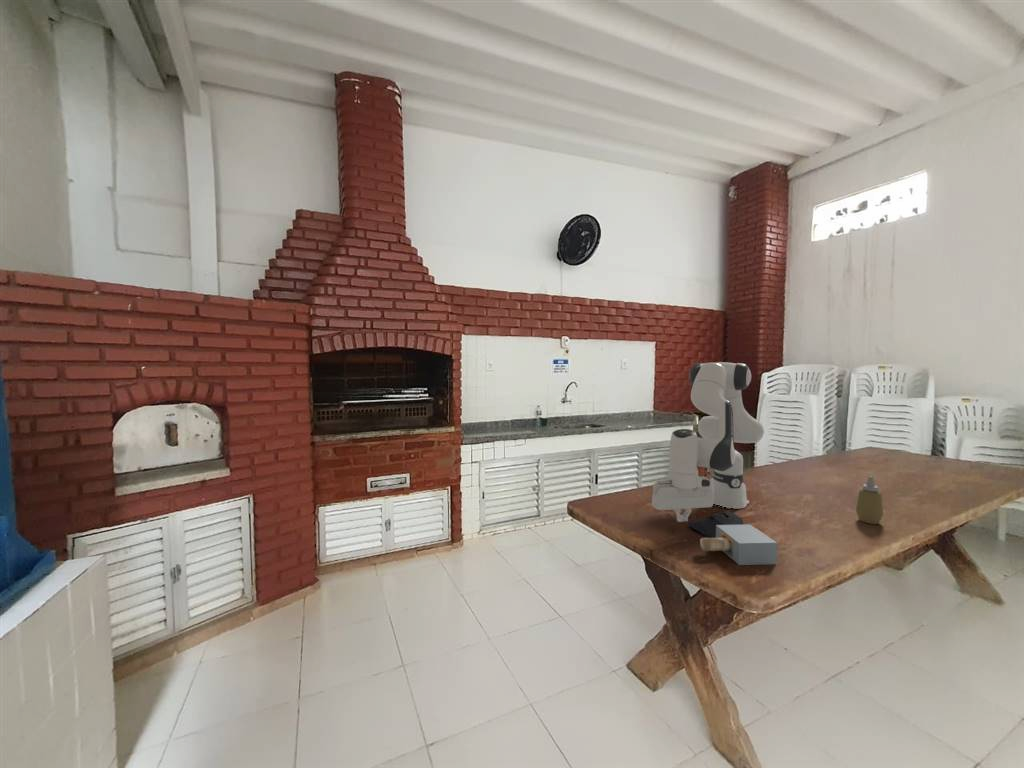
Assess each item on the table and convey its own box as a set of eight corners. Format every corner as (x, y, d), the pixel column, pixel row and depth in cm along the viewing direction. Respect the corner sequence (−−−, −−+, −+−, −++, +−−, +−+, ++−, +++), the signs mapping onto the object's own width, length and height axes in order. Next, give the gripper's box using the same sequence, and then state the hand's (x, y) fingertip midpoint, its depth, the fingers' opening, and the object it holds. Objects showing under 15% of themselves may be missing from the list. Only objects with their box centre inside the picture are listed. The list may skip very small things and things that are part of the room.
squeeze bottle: (850, 519, 162) (852, 475, 161) (862, 516, 165) (864, 472, 164) (875, 527, 154) (877, 480, 153) (887, 523, 157) (889, 478, 156)
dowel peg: (699, 547, 136) (700, 535, 136) (735, 546, 136) (735, 535, 136) (705, 553, 132) (706, 541, 132) (742, 552, 132) (742, 540, 132)
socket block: (715, 544, 141) (716, 525, 141) (749, 543, 142) (750, 524, 141) (738, 564, 127) (739, 543, 127) (776, 564, 128) (777, 542, 127)
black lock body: (680, 526, 158) (680, 514, 157) (719, 517, 167) (719, 505, 167) (714, 542, 144) (714, 529, 144) (755, 531, 153) (755, 518, 153)
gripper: (658, 483, 128) (657, 526, 128) (717, 481, 131) (716, 523, 131) (648, 478, 134) (647, 519, 135) (705, 475, 137) (704, 515, 138)
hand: (682, 521), depth 133 cm, fingers closed
